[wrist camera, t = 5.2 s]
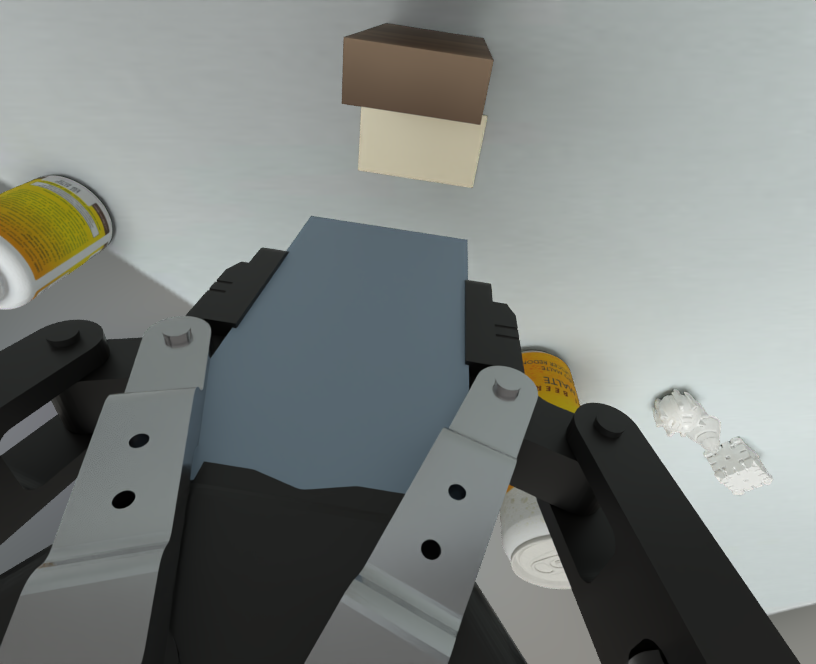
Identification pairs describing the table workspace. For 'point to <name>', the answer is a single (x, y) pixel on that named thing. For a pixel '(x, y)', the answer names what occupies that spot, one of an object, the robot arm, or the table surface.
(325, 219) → the domino
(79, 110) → the table surface
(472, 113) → the domino
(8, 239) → the supplement bottle
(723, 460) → the game pieces
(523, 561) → the beer can
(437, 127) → the plate
